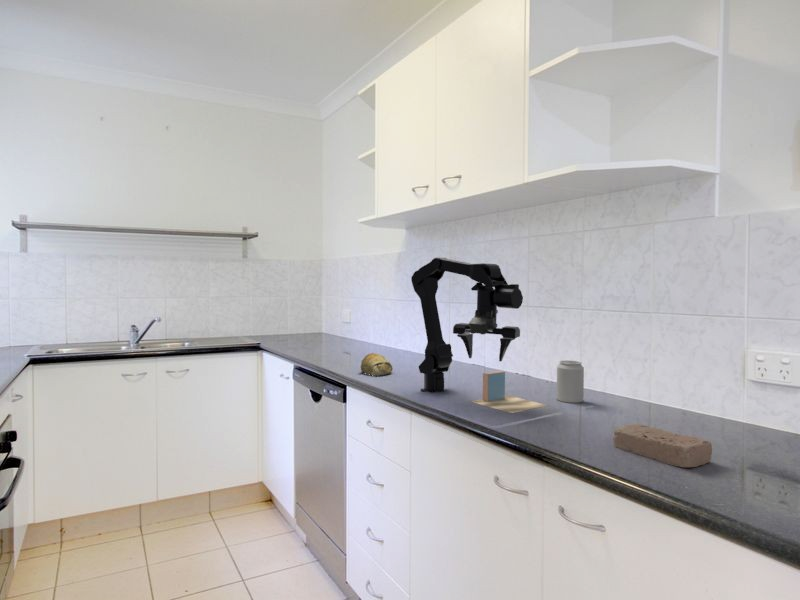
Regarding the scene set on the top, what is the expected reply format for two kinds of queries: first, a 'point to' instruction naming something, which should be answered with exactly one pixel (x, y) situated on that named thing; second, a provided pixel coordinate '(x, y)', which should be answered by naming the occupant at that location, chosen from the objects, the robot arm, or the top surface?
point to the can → (570, 381)
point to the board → (510, 404)
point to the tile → (493, 386)
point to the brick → (663, 445)
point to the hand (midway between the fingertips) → (485, 359)
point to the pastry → (376, 365)
